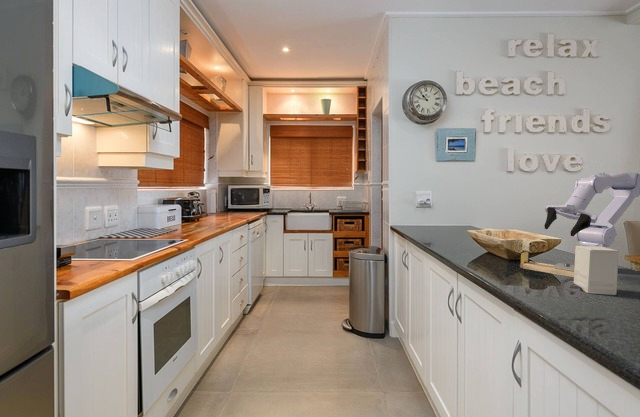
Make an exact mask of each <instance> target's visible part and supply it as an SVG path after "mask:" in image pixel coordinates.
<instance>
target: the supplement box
mask: <svg viewBox="0 0 640 417" xmlns="http://www.w3.org/2000/svg"><path fill="white" fill-rule="evenodd" d="M574 251H575V252H574V256H575V257H574V265H575V269H574V277H573V284H575V285H577V286H578V287H580V288H579V290H581V291H583V292H584V293H586V294H594V295H609V296H616V295H617V291H618V289H617V288H618V287H617V286H618V272H619V271H618V270H619V255H620V254H619V250H616V249H613V248H610V247H607V248H606V247H602V246H581V245H575V250H574Z"/></svg>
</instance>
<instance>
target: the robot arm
mask: <svg viewBox="0 0 640 417" xmlns="http://www.w3.org/2000/svg"><path fill="white" fill-rule="evenodd" d="M605 190H608V192H609V196H610V197H612V198H613V199H612V200H611V201H610V203H608V205H606V207H605V208H604V209H603V211H601V213H599V215H596V214H593V213H590V212H588V211H586V209H587V208H588V206H589V205H590V203H591V201H592V200H593V199H594V197H595V196H596V194H599V195H600V194H602V193H603V192H604V191H605ZM638 197H640V172H614V173H613V172H611V173H610V174H609V173H605V172H598V173H597V174H592V175H590V176H588V177H586V176H585V177H580V178H578V179H576V181H575V185H574V188H573V192H572V194H571V195H570V196H569V198H568V199H567V200H566V202H565V203H564V204H563V205H562V204H561V205H554V204H553V205H552V204H547V205H546V206H545V207H544V208H545V209H544V211H545V213H547V214H546V220H545V223H544V230H548V229H549V228H551V225H552V224H553V223H554V222H555V221H556V220H557V219H558V216H557V215H560V216H562V217H563V218H566V219H568V220H575V221H576V220H577V221H576V223H575V225H574V226H573V227H572V229H571V230H570V237H574V236H575V237H574V238H575V241H577V242H578V244H579V245H580V246H602V247H606V248H610V246H612V245H613V244H614V241H615V238H616V236H617V230H616V227H615V225H616V223H617V221H618V220H620V218H622V216H623V215H624V213H625V212H626V211H627V209H629V207H630V206H631V205H632V203H633V202H634V200H635V199H636V198H638Z"/></svg>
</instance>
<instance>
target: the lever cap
mask: <svg viewBox="0 0 640 417" xmlns="http://www.w3.org/2000/svg"><path fill="white" fill-rule="evenodd" d="M553 265H554V268H557V269H564V270H570V271H574V269H575V264H571V263H568V262H567V263H566V262H565V263H562V262H558V263H556V264H553Z"/></svg>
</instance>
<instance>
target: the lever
mask: <svg viewBox="0 0 640 417" xmlns="http://www.w3.org/2000/svg"><path fill="white" fill-rule="evenodd" d="M527 262H529V252H527V251H524V252H522V253H520V264H521V265H523V264H525V263H527Z"/></svg>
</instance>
